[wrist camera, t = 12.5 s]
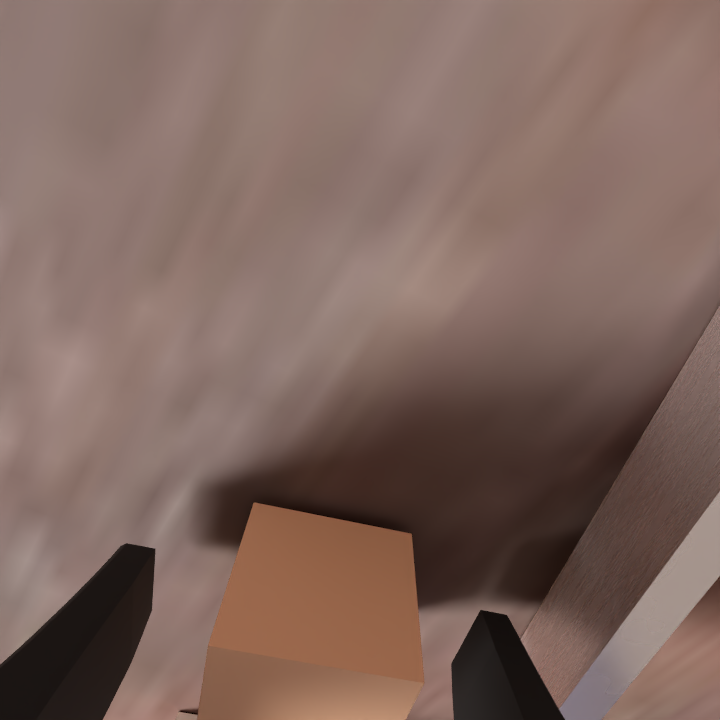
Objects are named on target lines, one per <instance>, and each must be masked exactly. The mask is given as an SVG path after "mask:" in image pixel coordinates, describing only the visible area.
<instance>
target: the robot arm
mask: <svg viewBox="0 0 720 720" xmlns="http://www.w3.org/2000/svg"><path fill="white" fill-rule="evenodd" d="M154 564H155V549H154V548H148V547H143V546H138V545H132V544H127V543H126V544H124V545H122V546H121V547H120V548H119V549H118V550H117V551H116V552H115V553H114V554H113V555H112V557H111V558H110V559H109V560H108V561H107V562H106V563H105V564H104V565H103V566H102V567H101V568H100V569H99V571H98V572H97V573H96V574H95V575H94V576H93V577H92V578H91V579H90V580H89V581H88V582H87V583H86V584H85V585H84V586H83V587H82V588H81V589H80V590H79V591H78V592H77V593H76V594H75V595H74V596H73V597H72V598H71V599H70V600H69V601H68V602H67V603H66V604H65V605H64V606H63V607H62V608H61V609H60V610H59V611H58V612H57V613H56V614H55V615H54V616H53V617H51V618H50V619H49V620H48V621H47V622H46V623H45V624H44V625H43V626H42V627H41V628H40V629H39V630H38V631H37V632H36V633H35V634H34V635H33V636H32V637H31V638H29V639H28V640H27V641H26V642H25V643H24V644H23V645H22V646H21V647H20V648H19V649H17V650H16V651H15V652H14V653H13V654H12V655H11V656H9V657H8V658H7V659H6V660H5V661H4V662H3V663H2V664H0V720H103V718H104V716H105V714H106V712H107V710H108V708H109V706H110V704H111V702H112V700H113V698H114V696H115V694H116V692H117V690H118V688H119V686H120V684H121V682H122V680H123V678H124V676H125V674H126V672H127V670H128V668H129V666H130V664H131V662H132V659H133V657H134V654H135V652H136V649H137V647H138V644H139V642H140V639H141V637H142V634H143V632H144V629H145V627H146V624H147V621H148V619H149V616H150V614H151V611H152V598H153V581H154ZM451 667H452V694H453V711H454V720H565V719H564V717H563V715H562V714H561V712H560V710H559V708H558V707H557V705H556V703H555V701H554V700H553V698H552V696H551V694H550V693H549V691H548V689H547V687H546V685H545V684H544V682H543V680H542V678H541V676H540V675H539V673H538V671H537V669H536V667H535V666H534V664H533V662H532V660H531V658H530V656H529V655H528V653H527V651H526V649H525V647H524V645H523V643H522V642H521V640H520V638H519V636H518V634H517V632H516V631H515V629H514V627H513V625H512V623H511V621H510V620H509V618H508V616H507V615H504V614H499V613H494V612H488V611H483V610H480V612H479V614H478V616H477V618H476V619H475V621H474V623H473V625H472V627H471V629H470V631H469V632H468V634H467V636H466V638H465V640H464V642H463V643H462V645H461V647H460V649H459V651H458V653H457V654H456V656H455V658H454V660H453V662H452V664H451Z"/></svg>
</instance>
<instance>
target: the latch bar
mask: <svg viewBox="0 0 720 720" xmlns="http://www.w3.org/2000/svg"><path fill="white" fill-rule="evenodd" d="M719 576H720V306H719V308H718V309H717V311H716V313H715V314H714V316H713V318H712V319H711V321H710V323H709V324H708V326H707V328H706V330H705V331H704V333H703V335H702V336H701V338H700V340H699V341H698V343H697V345H696V346H695V348H694V350H693V351H692V353H691V355H690V356H689V358H688V360H687V361H686V363H685V365H684V366H683V368H682V370H681V371H680V373H679V375H678V376H677V378H676V380H675V381H674V383H673V385H672V386H671V388H670V390H669V391H668V393H667V395H666V396H665V398H664V400H663V401H662V403H661V405H660V406H659V408H658V410H657V411H656V413H655V415H654V417H653V418H652V420H651V422H650V423H649V425H648V427H647V428H646V430H645V432H644V433H643V435H642V437H641V438H640V440H639V442H638V443H637V445H636V447H635V448H634V450H633V452H632V453H631V455H630V457H629V458H628V460H627V462H626V463H625V465H624V467H623V468H622V470H621V472H620V473H619V475H618V477H617V478H616V480H615V482H614V483H613V485H612V487H611V488H610V490H609V492H608V493H607V495H606V497H605V498H604V500H603V502H602V503H601V505H600V507H599V509H598V510H597V512H596V514H595V515H594V517H593V519H592V520H591V522H590V524H589V525H588V527H587V529H586V530H585V532H584V534H583V535H582V537H581V539H580V540H579V542H578V544H577V545H576V547H575V549H574V550H573V552H572V554H571V555H570V557H569V559H568V560H567V562H566V564H565V565H564V567H563V569H562V570H561V572H560V574H559V575H558V577H557V579H556V580H555V582H554V584H553V585H552V587H551V589H550V590H549V592H548V594H547V596H546V597H545V599H544V601H543V602H542V604H541V606H540V607H539V609H538V611H537V612H536V614H535V616H534V617H533V619H532V621H531V622H530V624H529V626H528V627H527V629H526V631H525V632H524V634H523V636H522V637H521V639H520V640H521V642H522V643H523V645H524V647H525V649H526V651H527V653H528V655H529V656H530V658H531V660H532V662H533V664H534V666H535V667H536V669H537V671H538V673H539V675H540V676H541V678H542V680H543V682H544V684H545V685H546V687H547V689H548V691H549V693H550V694H551V696H552V698H553V700H554V701H555V703H556V705H557V707H558V708H559V710H560V712H561V714H562V715H563V717H564V719H565V720H601V719H602V718H603V717H604V716H605V715H606V713H607V712H608V711H609V710H610V708H611V707H612V706H613V705H614V704H615V702H616V701H617V700H618V699H619V698H620V696H621V695H622V694H623V693H624V691H625V690H626V689H627V688H628V687H629V685H630V684H631V683H632V682H633V681H634V679H635V678H636V677H637V676H638V674H639V673H640V672H641V671H642V670H643V668H644V667H645V666H646V665H647V664H648V662H649V661H650V660H651V659H652V657H653V656H654V655H655V654H656V653H657V651H658V650H659V649H660V648H661V647H662V645H663V644H664V643H665V642H666V640H667V639H668V638H669V637H670V636H671V634H672V633H673V632H674V631H675V630H676V628H677V627H678V626H679V625H680V623H681V622H682V621H683V620H684V619H685V617H686V616H687V615H688V614H689V613H690V611H691V610H692V609H693V608H694V607H695V605H696V604H697V603H698V602H699V600H700V599H701V598H702V597H703V596H704V594H705V593H706V592H707V591H708V590H709V588H710V587H711V586H712V585H713V583H714V582H715V581H716V580H717V579H718V577H719Z"/></svg>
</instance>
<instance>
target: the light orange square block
mask: <svg viewBox="0 0 720 720" xmlns="http://www.w3.org/2000/svg"><path fill="white" fill-rule="evenodd" d="M423 685H424V673H423V661H422V649H421V638H420V626H419V614H418V602H417V590H416V579H415V567H414V555H413V543H412V534H410V533H405V532H400V531H395V530H390V529H385V528H380V527H375V526H370V525H365V524H360V523H355V522H350V521H345V520H340V519H335V518H330V517H325V516H320V515H315V514H310V513H305V512H300V511H295V510H290V509H285V508H280V507H275V506H270V505H265V504H259V503H253V506H252V509H251V513H250V516H249V519H248V522H247V525H246V528H245V531H244V535H243V538H242V541H241V544H240V547H239V550H238V553H237V557H236V560H235V563H234V566H233V569H232V572H231V575H230V578H229V582H228V585H227V588H226V591H225V594H224V597H223V600H222V604H221V607H220V610H219V613H218V616H217V619H216V622H215V626H214V629H213V632H212V635H211V638H210V641H209V644H208V649H207V656H206V663H205V669H204V676H203V683H202V689H201V696H200V703H199V709H198V716H197V720H406V718H407V716H408V714H409V712H410V710H411V708H412V706H413V704H414V702H415V700H416V699H417V697H418V695H419V693H420V691H421V689H422V687H423Z"/></svg>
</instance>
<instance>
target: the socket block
mask: <svg viewBox="0 0 720 720" xmlns="http://www.w3.org/2000/svg"><path fill="white" fill-rule="evenodd" d="M197 716H198V715H195V714H189V713H183V712H178V714H177V717H176V720H197Z"/></svg>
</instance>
